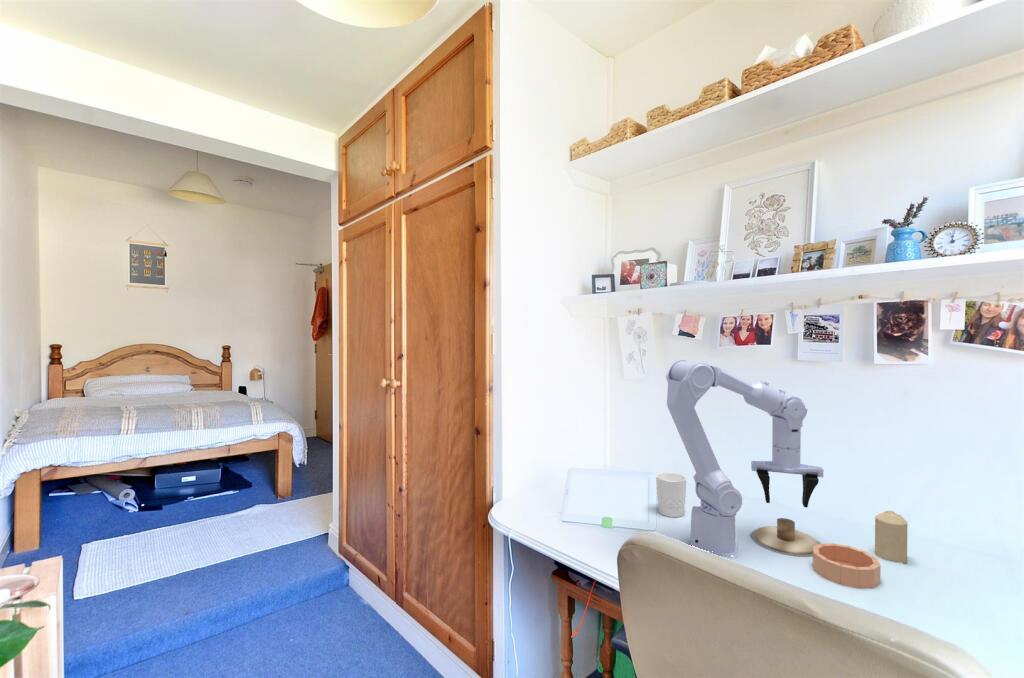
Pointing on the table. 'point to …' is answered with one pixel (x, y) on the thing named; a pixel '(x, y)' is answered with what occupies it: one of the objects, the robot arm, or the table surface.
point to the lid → (786, 538)
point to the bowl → (846, 565)
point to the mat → (775, 550)
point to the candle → (891, 537)
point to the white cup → (671, 494)
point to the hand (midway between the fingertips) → (786, 503)
